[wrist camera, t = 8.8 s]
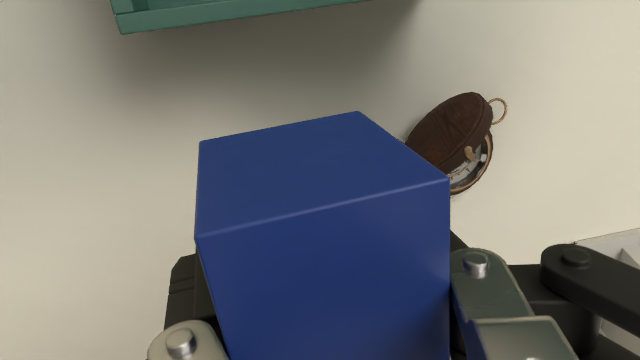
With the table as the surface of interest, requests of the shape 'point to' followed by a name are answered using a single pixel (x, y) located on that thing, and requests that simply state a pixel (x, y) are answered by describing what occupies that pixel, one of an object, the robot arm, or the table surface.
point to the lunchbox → (201, 11)
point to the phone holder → (629, 249)
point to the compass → (457, 138)
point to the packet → (325, 243)
